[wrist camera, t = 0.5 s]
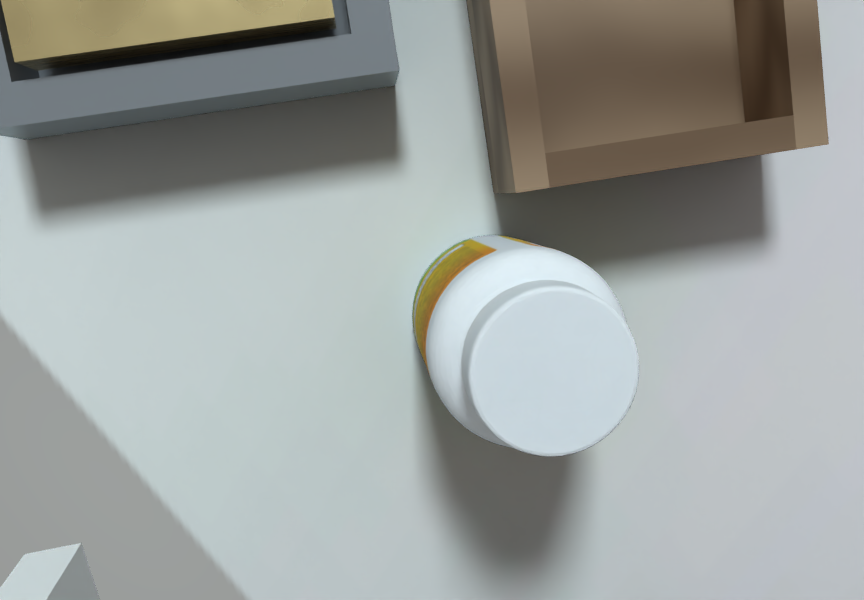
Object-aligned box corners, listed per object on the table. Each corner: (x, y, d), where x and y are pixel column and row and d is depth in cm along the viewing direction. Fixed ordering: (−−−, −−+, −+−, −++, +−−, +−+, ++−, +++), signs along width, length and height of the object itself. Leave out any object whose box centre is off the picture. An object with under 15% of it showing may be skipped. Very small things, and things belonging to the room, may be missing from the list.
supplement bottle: (419, 397, 28) (449, 504, 18) (402, 243, 27) (423, 269, 17) (571, 377, 28) (678, 472, 18) (558, 225, 27) (663, 242, 18)
